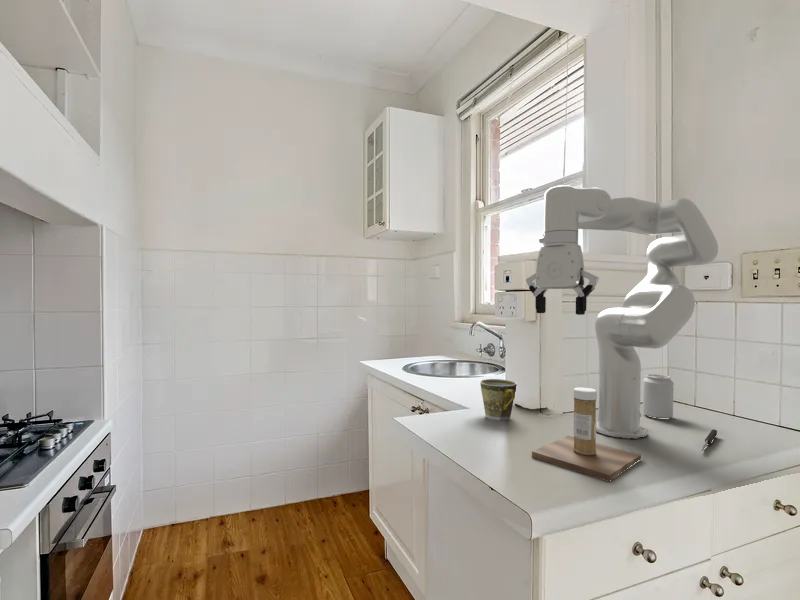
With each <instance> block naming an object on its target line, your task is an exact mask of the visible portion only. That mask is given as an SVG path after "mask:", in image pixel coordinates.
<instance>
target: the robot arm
mask: <svg viewBox="0 0 800 600" xmlns="http://www.w3.org/2000/svg"><path fill="white" fill-rule="evenodd" d="M543 201H544V203H543V205H544V208H543V209H544V212H543V215H544V216H543V235H542V236H543V237H539V241H538V242H539V244H542V245H543V246H540V248H539V252H538V255H537V256H538V257H537V263H536V270H535V271H536V272H535V273H533V274H532V275H531V276H529V277H527V278H526V279H525V281H526V284H527V286H528V288H529V291H530V292H531V293H532V294H533V296H534V297H535V311H536V314H545V313H546V310H547V308H546V305H547V302H546V300H547V298H546V296H544V295H545V294H546V293H547V292H548V291H549V290H551V289H553V290H567V289H568V290H569V289H570V290H573V291H575V293H576V295H577V296H576V297H575V315H578V316H579V315H580V316H582V315H583V316H584V315H585V313H586V311H587V302H588V301H587V299H588V297H590V296H589V295H590V294H591V293H592V292H593V291H594V290H595V287H596V286H597V285H598V282H599V281H600V278H599V276H597V275H595V274H593V273H591V272H589V271H586V270H585V263H584V262H585V261H584V255H583V254H584V253H583V250H582V246H581V245H579V230H593V231H594V230H595V231H609V232H610V231H612V232H613V231H621V232H628V233H632V234H633V233H635V234H639V235H645V236H659V235H667V234H673V233H682V234H678V235H669V236H664V237H660V238H657V239H655V240H653V241H652V242H651V243H650V244H649V245H648V247H647V249H646V255H645V257H646V271H647V274H646V276H644V278H643V279H642V280H641V281H640V282H638V284H637V285H636V286H634V287H633V289H632V290H630V291H629V293H627V294H626V296H625V297H624V300H623V303H622V307H610V308H606V309H604V310H602V311H601V312H599V313H598V315H597V316H596V319H595V323H594V329H595V335H596V339H597V346H598V397H597V399H598V403H597V404H598V408H597V409H598V411H597V420H596V433H599V434H602V435H605V436H608V437H614V438H619V437H622V438H621V439H630V438H634V439H639V438H638V437H643V438H645V437H646V436H647V435H648V430H647V429H646V428H645V427H644V426H641V417H642V412H641V373H642V364H641V360H640V357H639V355H638V353H637V351H636V349H635V347H636V348H642V349H643V348H644V349H659V348H662V347H663V348H664V346H666V345H667V344H669V343H670V342H671V340H673V338H675V336H676V335H677V334H678V333H679V332H680V331H681V330H682V328H683V327H685V325H686V324H687V323H688V322H689V321H690V319H691V318H692V316H693V314H694V312H695V306H696V305H695V304H696V302H695V299H696V298H695V297H694V294H693V292H692V291H691V289H689V287H687V286H685V285H683V284H680V280H679V278H678V277H677V275H676V274H675V272H674V271H673V267H674V268H675V267H689V266H691V267H692V266H703V265H708V264H710V263H711V262H713V261H714V260H715V259H717V258H716V257H718V253H719V245H718V244H719V243H718V240H717V239H716V236H715V234H714V232H713V231H712V229H711V227H710V225H709V223H708V222H707V219H706V218H705V217H704V214H703V213H702V212H701V210H700V209H699V207H698V206H697V205H696V204H695V203H694V202H693V201H692V200H691V199H689V198H686V197H680V198H675V199H671V200H666V201H659V202H653V201H648V200H643V199H639V198H635V197H632V196H631V197H629V196H623V197H615V198H614V197H611V196H610V194H609V193H608V192H607V191H606V190H604V189H603V188H602V189H601V188H599V187H586V188H585V187H584V188H582V187H575V186H572V185H556V186H553V187H550V188H549V189H547V190H546V191H545V192H544V200H543ZM585 279H587V280H589V281H588V284H587V285H586V286H585V287H584V285H585ZM644 436H645V437H644Z"/></svg>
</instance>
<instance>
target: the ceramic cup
mask: <svg viewBox="0 0 800 600" xmlns="http://www.w3.org/2000/svg"><path fill="white" fill-rule="evenodd" d="M516 386H517V382H515V381H513V380H509V379H503V378H502V379H501V378H499V379H498V378H488V379H482V380H481V381H480V391H481V396H482V402H483V409H484V415H485V417H486V418H487V419H488V420H490V421H498V422H505V421H508V420H510V419H511V415H512V411H513V410H512V409H513V405H514V401H515V392H516Z"/></svg>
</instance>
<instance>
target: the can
mask: <svg viewBox="0 0 800 600" xmlns="http://www.w3.org/2000/svg"><path fill="white" fill-rule="evenodd" d="M671 378H672V377H671V376H670V375H666V374H665V375H664V374H654V373H651V374H650V373H649V374H645V378H643V379H642V384H643V385H642V388H643V389H642V413H643V414H644V415H645V416H646V415H647V416H651V417H656V418H670V419H671V418H673V417H674V381H672V380H671ZM647 416H646V417H647Z"/></svg>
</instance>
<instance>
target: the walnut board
mask: <svg viewBox="0 0 800 600" xmlns="http://www.w3.org/2000/svg"><path fill="white" fill-rule="evenodd" d="M573 447H574V436H572V435H571V436H570V435H566V436H564V437H561V438H560V439H557V440H555V441H553V442H550V443H548V444H546V445H543V446H541V447H539V448H536V449H534V450H532V451H531V458H534V459H537V460H540V461H544V462H546V463H550V464H552V465H556V466H560V467H562V468H565V469H568V470H572V471H575V472H578V473H582V474H583V475H587V476H590V477H594V478H596V477H597V479H600V478H601V479H600V480H603V479H604V481H606V480H608V481H607V482H609V481H610V480H611V481H612V479H613V478H614V477H616V476H617V475H618V474H620V473H621V472H623V471H624V470H626V469H627V468H629V467H630V466H631V465H633V464H634V463H635V462H637V461H638V460H640V459H641V460H642V454H641V453H637V452H633V451H628V450H624V449H620V448H619V447H613V446H610V445H609V446H608V445H606V444H602V443H598V442H596V453H595V454H594V455H582V454H579V453H576V452H575V451H574V450H573ZM633 466H634V465H633ZM629 469H630V468H629ZM626 471H627V470H626ZM623 473H624V472H623ZM620 475H621V474H620ZM617 477H618V476H617ZM617 477H616V478H617ZM614 479H615V478H614ZM614 479H613V480H614ZM611 481H610V482H611Z"/></svg>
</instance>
